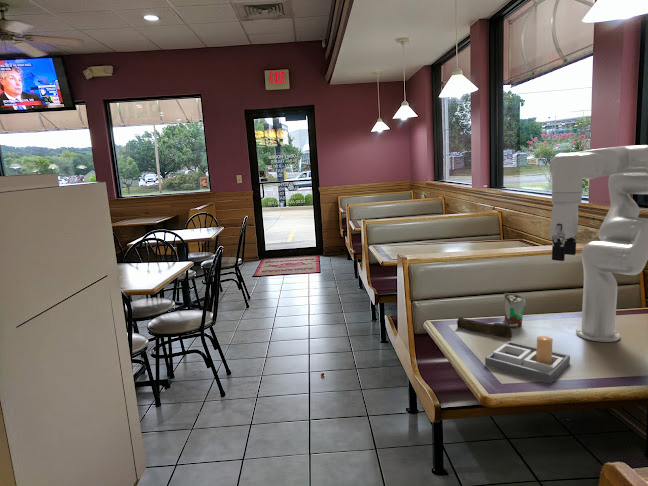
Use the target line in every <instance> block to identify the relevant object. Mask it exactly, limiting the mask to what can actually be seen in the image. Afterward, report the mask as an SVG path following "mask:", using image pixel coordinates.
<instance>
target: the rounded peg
mask: <svg viewBox="0 0 648 486" xmlns="http://www.w3.org/2000/svg"><path fill="white" fill-rule="evenodd" d="M553 342H554V341H553V338H552V337H550V336H546V335H545V336H544V335H540V336H537V337H536V348H537V350H536V362H540V363H544V364H548V365H552V351H553Z"/></svg>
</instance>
